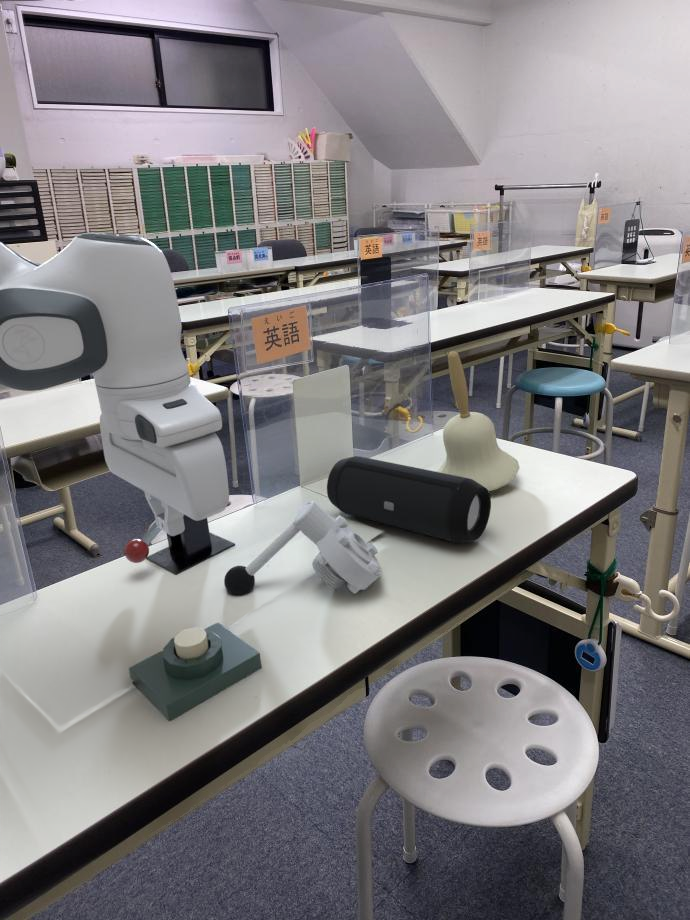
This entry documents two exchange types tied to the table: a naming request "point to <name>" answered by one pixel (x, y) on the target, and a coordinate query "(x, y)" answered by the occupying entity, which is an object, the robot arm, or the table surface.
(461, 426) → the handbell
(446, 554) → the table surface
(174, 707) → the control block
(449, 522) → the portable speaker
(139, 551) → the lever
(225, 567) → the table surface
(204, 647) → the button
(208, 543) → the bracket
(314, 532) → the mechanical valve
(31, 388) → the robot arm
